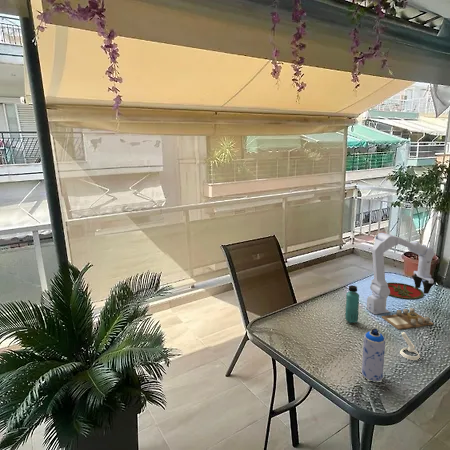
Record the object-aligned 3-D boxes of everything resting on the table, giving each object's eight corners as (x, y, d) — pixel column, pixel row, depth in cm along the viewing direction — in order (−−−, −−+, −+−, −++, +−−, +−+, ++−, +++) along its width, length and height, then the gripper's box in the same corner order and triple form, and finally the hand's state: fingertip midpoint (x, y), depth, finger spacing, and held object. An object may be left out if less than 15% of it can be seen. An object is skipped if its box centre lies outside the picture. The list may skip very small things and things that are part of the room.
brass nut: (420, 320, 158) (420, 316, 158) (412, 321, 158) (413, 317, 157) (412, 315, 163) (412, 311, 163) (405, 317, 162) (405, 312, 162)
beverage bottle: (350, 326, 157) (351, 289, 153) (342, 320, 163) (343, 285, 159) (360, 324, 159) (362, 288, 155) (352, 318, 165) (354, 283, 161)
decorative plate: (409, 282, 207) (432, 298, 183) (409, 283, 208) (432, 299, 183) (372, 282, 209) (390, 298, 184) (372, 284, 209) (390, 300, 184)
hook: (388, 335, 139) (403, 328, 137) (404, 359, 136) (419, 353, 134) (390, 340, 132) (405, 333, 130) (407, 366, 129) (423, 360, 127)
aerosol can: (369, 367, 126) (372, 322, 122) (387, 378, 119) (391, 331, 115) (356, 373, 122) (359, 328, 118) (374, 385, 115) (377, 337, 111)
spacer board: (398, 329, 152) (399, 323, 151) (381, 317, 164) (381, 311, 164) (433, 324, 156) (433, 318, 155) (413, 313, 168) (414, 307, 167)
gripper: (440, 272, 163) (437, 295, 166) (423, 263, 177) (420, 285, 180) (427, 272, 163) (424, 296, 166) (410, 263, 177) (408, 285, 180)
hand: (421, 290), depth 173 cm, fingers open, 7 cm apart
